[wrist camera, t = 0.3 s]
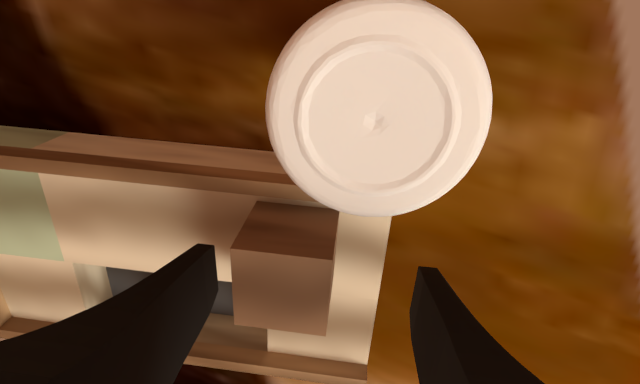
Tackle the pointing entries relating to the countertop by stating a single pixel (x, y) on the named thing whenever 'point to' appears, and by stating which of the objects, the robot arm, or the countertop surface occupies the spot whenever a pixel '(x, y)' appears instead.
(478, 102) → the sprinkles bottle
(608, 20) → the countertop surface
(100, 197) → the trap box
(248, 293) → the walnut block
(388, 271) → the countertop surface
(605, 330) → the countertop surface
